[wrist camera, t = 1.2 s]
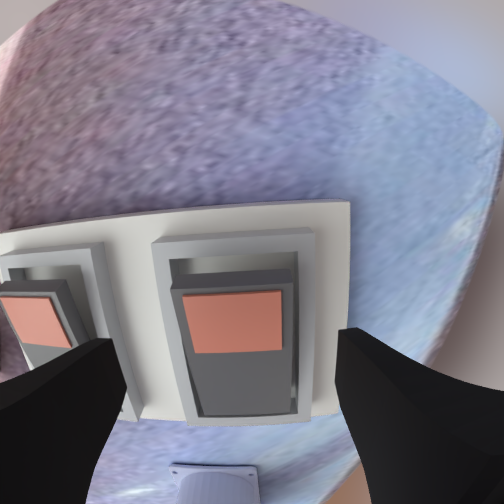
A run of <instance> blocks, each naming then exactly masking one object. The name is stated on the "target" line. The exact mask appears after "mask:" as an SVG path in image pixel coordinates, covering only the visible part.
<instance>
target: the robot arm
mask: <svg viewBox="0 0 504 504" xmlns="http://www.w3.org/2000/svg"><path fill="white" fill-rule="evenodd" d="M334 382H335V387H336V391H337V396H338V400H339V404H340V408H341V410H342V413H343V415H344V418H345V421H346V423H347V426H348V428H349V431H350V433H351V436H352V438H353V441H354V444H355V446H356V449H357V451H358V454H359V456H360V459H361V462H362V464H363V468H364V471H365V475H366V480H367V484H368V488H369V493H370V497H371V502H372V504H504V391H500V390H495V389H490V388H486V387H482V386H478V385H474V384H470V383H467V382H464V381H461V380H458V379H455V378H452V377H450V376H447V375H445V374H442V373H439V372H437V371H435V370H432V369H430V368H428V367H426V366H424V365H422V364H420V363H418V362H416V361H414V360H412V359H410V358H409V357H407V356H405V355H403V354H401V353H400V352H398V351H396V350H394V349H393V348H391V347H389V346H388V345H386V344H384V343H383V342H381V341H380V340H378V339H376V338H375V337H373V336H371V335H370V334H368V333H367V332H365V331H363V330H361V329H359V328H357V327H356V328H348V329H340V330H338V342H337V356H336V369H335V381H334ZM126 391H127V384H126V381H125V378H124V375H123V372H122V369H121V366H120V363H119V360H118V356H117V353H116V350H115V346H114V343H113V339H112V338H95V339H92V340H90V341H88V342H85V343H83V344H81V345H79V346H77V347H75V348H73V349H71V350H70V351H68V352H66V353H64V354H62V355H60V356H58V357H56V358H55V359H53V360H51V361H49V362H47V363H45V364H43V365H41V366H39V367H37V368H35V369H33V370H31V371H29V372H27V373H24V374H22V375H20V376H17V377H15V378H13V379H10V380H7V381H5V382H2V383H0V504H85V503H86V499H87V494H88V490H89V486H90V483H91V479H92V476H93V472H94V469H95V466H96V464H97V461H98V459H99V456H100V454H101V452H102V450H103V448H104V446H105V443H106V441H107V439H108V437H109V435H110V433H111V431H112V429H113V426H114V424H115V422H116V420H117V418H118V416H119V413H120V411H121V408H122V405H123V402H124V398H125V395H126ZM169 471H170V473H171V475H172V477H173V480H174V482H175V484H176V486H177V488H178V490H179V492H178V497H177V502H176V504H260V495H259V486H258V477H257V469H256V468H255V467H253V466H244V467H219V466H193V465H178V464H171V465H169Z"/></svg>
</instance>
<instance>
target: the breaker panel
mask: <svg viewBox="0 0 504 504" xmlns="http://www.w3.org/2000/svg"><path fill="white" fill-rule="evenodd" d="M283 268H290V271H291V275H292V279H293V340H292V375H291V401H290V412H285V413H271V414H251V415H204V412H203V409H202V406H201V403H200V399H199V396H198V393H197V390H196V386H195V383H194V380H193V376H192V373H191V369H190V366H189V362H188V359H187V355H186V352H185V348H184V344H183V341H182V337H181V333H180V329H179V325H178V321H177V317H176V313H175V309H174V305H173V301H172V297H171V293H170V288H171V285H172V282H173V280H174V277H175V275H178V274H197V273H216V272H234V271H251V270H267V269H283ZM349 277H350V202H349V201H346V200H343V199H313V200H290V201H271V202H254V203H239V204H224V205H211V206H199V207H187V208H176V209H165V210H155V211H145V212H136V213H127V214H118V215H109V216H101V217H93V218H85V219H77V220H70V221H63V222H56V223H49V224H42V225H35V226H29V227H23V228H16V229H10V230H6V231H3V232H0V281H1V284H2V283H3V282H4V281H13V280H52V279H66V281H67V283H68V286H69V289H70V292H71V294H72V297H73V299H74V302H75V304H76V307H77V309H78V312H79V314H80V317H81V319H82V321H83V324H84V326H85V328H86V331H87V333H88V335H89V337H90V340H92V339H95V338H112V339H113V343H114V346H115V350H116V353H117V356H118V360H119V363H120V366H121V369H122V372H123V375H124V378H125V381H126V384H127V391H126V395H125V398H124V402H123V405H122V408H121V411H120V413H119V416H118V418H117V419H118V420H125V421H134V422H138V421H139V419H140V418H146V419H157V420H172V421H187V425H188V426H258V425H275V424H288V423H299V422H309V421H311V417H313V416H322V415H329V414H337V413H338V409H339V400H338V396H337V391H336V387H335V382H334V381H335V369H336V356H337V342H338V330H340V329H347V318H348V301H349ZM20 346H21V344H20ZM21 348H22V346H21ZM22 351H23V353H24V356H25V358H26V361H27V363H28V366H29V368H30V371H31V370H33V369H35V368H34V366H33V365H32V363H31V362H30V360H29V358H28V356H27V355H26V353H25V351H24V350H23V348H22Z"/></svg>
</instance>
